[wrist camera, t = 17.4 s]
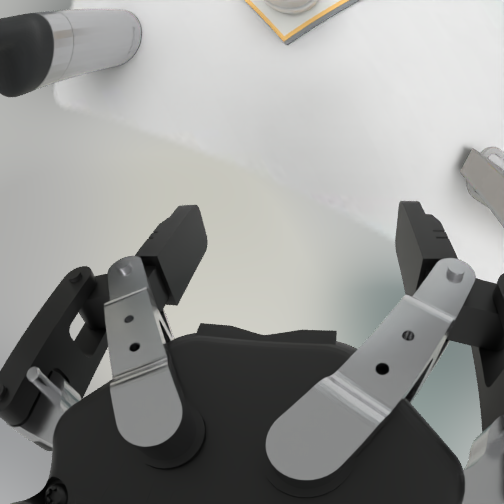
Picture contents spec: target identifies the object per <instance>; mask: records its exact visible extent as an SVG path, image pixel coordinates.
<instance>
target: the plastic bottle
mask: <svg viewBox="0 0 504 504" xmlns="http://www.w3.org/2000/svg"><path fill="white" fill-rule="evenodd" d="M264 2H265V3H266V4H267V5H268V6H270V7H271V8H273V9H275V10H277V11H279V12H283V13H288V14H296V13H302V12H305V11H307V10H309V9H311V8H312V7H313V6H314V5H315V4H316V3H317V2H318V0H264Z"/></svg>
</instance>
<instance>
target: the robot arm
mask: <svg viewBox="0 0 504 504" xmlns="http://www.w3.org/2000/svg"><path fill="white" fill-rule="evenodd" d="M140 41H141V27H140V23H139V21H138V19H137V18H136V17H135V16H134V15H133V14H132V13H131V12H129V11H126V10H116V9H74V10H57V11H46V12H37V13H30V14H23V15H17V16H13V17H7V18H1V19H0V93H1V94H2V95H4V96H7V97H17V96H20V95H23V94H26V93H28V92H31V91H33V90H36V89H38V88H41V87H44V86H47V85H50V84H53V83H56V82H59V81H62V80H65V79H69V78H72V77H75V76H79V75H82V74H86V73H90V72H94V71H98V70H102V69H106V68H110V67H115V66H119V65H122V64H124V63H125V62H127V61H128V60H129V59H131V58H132V57H133V55H134V54H135V53H136V51H137V49H138V47H139V44H140ZM395 244H396V253H397V257H398V262H399V266H400V270H401V275H402V279H403V284H404V289H405V293H406V295H405V296H404V297H403V298H402V299H401V300H400V301H399V303H398V304H397V305H396V306H395V307H394V309H393V310H392V311H391V312H390V313H389V315H388V316H387V317H386V318H385V319H384V320H383V322H382V323H381V324H380V325H379V326H378V327H377V329H376V330H375V331H374V332H373V333H372V334H371V335H370V336H369V338H368V339H367V340H366V341H365V342H364V343H363V344H362V345H361V346H360V347H359V349H356V348H354V347H352V346H350V345H347V344H344V343H341V342H337V341H336V331H320V330H298V331H291V332H285V333H278V334H271V335H260V334H257V333H253V332H250V331H247V330H243V329H240V328H237V327H233V326H227V325H215V324H204V323H201V324H200V326H199V328H198V331H197V333H193V334H189V335H185V336H181V337H178V338H176V339H174V336H173V333H172V330H171V328H170V325H169V322H168V320H167V316H166V313H165V311H164V309H163V308H164V306H165V304H166V305H178V303H179V301H180V299H181V297H182V295H183V293H184V292H185V290H186V288H187V286H188V284H189V282H190V280H191V278H192V276H193V274H194V272H195V270H196V268H197V267H198V265H199V263H200V261H201V259H202V257H203V255H204V253H205V252H206V249H207V236H206V232H205V228H204V225H203V221H202V217H201V213H200V210H199V207H198V206H197V205H184V206H178V208H177V209H176V210H175V211H174V213H173V214H172V215H171V216H170V217H169V218H167V219H166V220H165V221H163V222H162V223H160V224H159V225H158V226H157V228H156V229H155V230H154V233H152V234H151V235H150V237H149V239H147V241H146V242H145V243H144V244H143V246H142V247H141V248H140V249H139V251H138V252H137V254H136V255H135V256H128V257H125V258H122V259H120V260H118V261H117V262H115V263H114V264H113V265H112V266H111V267H110V268H109V270H108V274H104V275H99V276H94V275H93V273H92V271H91V269H90V268H89V267H87V266H83V267H79V268H76V269H74V270H72V271H71V272H69V273H68V274H67V275H66V276H65V277H64V279H63V280H62V281H61V282H60V284H59V285H58V286H57V288H56V289H55V291H54V292H53V293H52V294H51V296H50V297H49V298H48V300H47V301H46V303H45V304H44V305H43V307H42V308H41V310H40V311H39V312H38V314H37V315H36V317H35V318H34V319H33V321H32V322H31V324H30V325H29V327H28V328H27V330H26V331H25V333H24V334H23V336H22V337H21V339H20V341H19V342H18V344H17V345H16V347H15V348H14V350H13V351H12V353H11V355H10V356H9V358H8V359H7V361H6V363H5V364H4V366H3V368H2V369H1V371H0V417H1V418H2V419H3V420H4V421H6V423H7V424H8V425H9V426H10V427H12V428H13V429H14V430H16V431H17V432H18V433H20V434H21V435H22V436H24V437H25V438H27V439H28V440H30V441H32V442H34V443H35V444H37V445H39V446H40V447H41V448H43V449H45V450H47V451H53V453H52V464H51V470H50V475H49V479H48V481H47V483H46V485H45V487H44V488H43V490H41V491H40V492H39V493H38V494H36V495H35V496H33V497H31V498H29V499H27V500H24V501H19V502H15V503H12V504H504V274H502V275H501V276H500V277H499V279H498V282H497V284H495V283H491V282H487V281H483V280H480V279H477V278H475V277H476V276H475V272H474V270H473V269H472V268H471V266H469V265H468V264H467V263H465V262H464V261H462V260H459V259H458V258H457V256H456V253H455V251H454V249H453V247H452V245H451V243H450V241H449V239H448V236H447V234H446V232H444V228H443V226H442V224H441V222H440V221H439V220H437V219H436V218H435V217H434V216H433V215H430V214H425V213H424V210H423V208H422V206H421V204H420V202H418V201H400V203H399V210H398V220H397V229H396V240H395ZM78 312H79V314H80V315H81V317H82V318H83V320H84V321H85V324H84V326H83V327H82V329H81V331H80V332H79V334H78V336H77V337H76V339H75V341H73V339H72V338H71V336H70V333H69V328H70V325H71V323H72V321H73V320H74V318H75V317H76V315H77V314H78ZM450 340H451V341H455V342H459V343H463V344H467V345H471V347H472V353H473V358H474V364H475V369H476V376H477V383H478V391H479V398H480V408H481V419H482V433H481V434H480V435H479V436H478V437H477V438H476V439H475V440H474V442H473V443H472V446H471V449H470V454H469V460H468V463H467V465H466V467H465V468H464V470H463V468H462V466H461V463H460V461H459V460H458V458H457V457H456V455H455V454H454V453H453V452H452V451H451V450H450V448H449V447H448V446H447V445H446V444H445V443H444V441H443V440H442V439H441V438H440V437H439V436H438V434H437V433H436V432H435V431H434V430H433V429H432V428H431V427H430V425H429V424H428V423H427V422H426V421H425V419H424V418H423V417H422V416H421V415H420V414H419V413H418V412H417V410H416V409H415V408H414V407H413V406H412V405H411V403H412V401H413V400H414V398H415V397H416V395H417V394H418V392H419V391H420V389H421V388H422V386H423V384H424V383H425V381H426V379H427V378H428V376H429V375H430V373H431V372H432V370H433V368H434V367H435V365H436V364H437V362H438V360H439V359H440V357H441V356H442V354H443V352H444V350H445V349H446V347H447V345H448V343H449V342H450ZM107 347H109V355H110V362H111V369H112V375H113V379H112V380H111V381H109V382H108V383H106V384H105V385H103V386H102V387H100V388H98V389H97V390H95V391H94V392H92V393H91V394H89V395H88V396H86V397H85V398H83V396H84V394H85V392H86V390H87V388H88V385H89V384H90V381H91V379H92V377H93V375H94V373H95V371H96V369H97V367H98V365H99V363H100V361H101V359H102V357H103V355H104V353H105V351H106V350H107ZM82 398H83V399H82Z"/></svg>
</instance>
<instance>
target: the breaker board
mask: <svg viewBox="0 0 504 504" xmlns="http://www.w3.org/2000/svg"><path fill="white" fill-rule="evenodd" d="M245 1H246V2H247V3H248V4H249V5H250V6H251V7H252V8H253V9H254V10H255V11H256V12H257V13H258V14H259V15H260V16H261V18H262V19H263V20H264V21H265V22H266V23H267V24H268V25H269V26H270V27H271V28H272V29H273V30H274V31H275V33H276V34H277V35H278V36H279V37H280V38H281V39H282V40H283V42H285V44H286V45H288V44H289V43H291V42H292V41H294V40H295V39H297V38H298V37H300V36H301V35H303V34H304V33H306V32H307V31H309V30H310V29H312V28H314V27H315V26H317V25H318V24H320V23H321V22H323V21H325V20H326V19H328V18H330V17H331V16H333V15H335V14H336V13H338V12H340V11H341V10H343V9H345V8H347V7H348V6H350V5H352V4H354V3H355V2H357V1H359V0H318V2H317V3H316V4H315V5H314V6H313V7H312V8H311V9H309V10H307V11H305V12H302V13H296V14H288V13H283V12H279V11H277V10H275V9H273V8H271V7H270V6H268V5H267V4H266V3H265V2H264V0H245Z"/></svg>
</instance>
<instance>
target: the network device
mask: <svg viewBox="0 0 504 504" xmlns="http://www.w3.org/2000/svg"><path fill="white" fill-rule="evenodd" d="M491 154H497V155H498V156H500V157H501V158H502V159H503V160H504V152H503V151H502V150H500V149H499V148H497V147H488V148H486V149H484V150H483V151H482V152H481V153H479V152H477V151H476V150H474V149H473V148H472V150H471V152H470V154H469V155H468V157H467V159H466V161H465V163H464V165H463V167H462V168H461V170H460V172H461V174H462V175H463V176H464V177H465V178H466V179H467V189H468V191H469V193H470V194H471V196H472V197H473V198H474V199H476V200H477V201H479V202H481V203H482V204H484V205H485V206H487V207H488V208H490V209H491V211H492V212H493V213H494V215H495V216H496V217H497V219H498V220H499V222H500V223H501V224H502V226H503V227H504V170H502V169H501V168H500V167H498V166H497V165H496V164H494V163H493V162H492V161H490V160H489V159H488V157H489V156H490V155H491ZM474 189H475V190H476V191H475V190H474Z"/></svg>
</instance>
